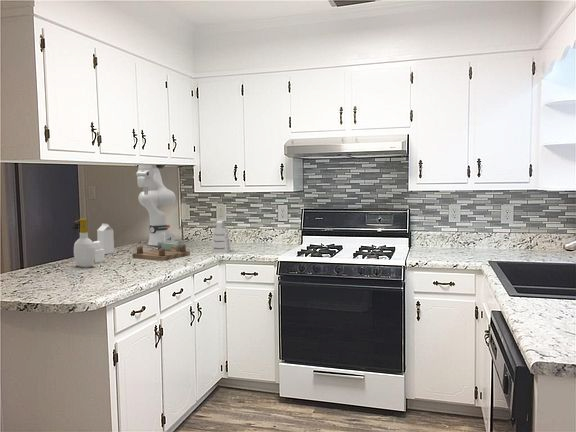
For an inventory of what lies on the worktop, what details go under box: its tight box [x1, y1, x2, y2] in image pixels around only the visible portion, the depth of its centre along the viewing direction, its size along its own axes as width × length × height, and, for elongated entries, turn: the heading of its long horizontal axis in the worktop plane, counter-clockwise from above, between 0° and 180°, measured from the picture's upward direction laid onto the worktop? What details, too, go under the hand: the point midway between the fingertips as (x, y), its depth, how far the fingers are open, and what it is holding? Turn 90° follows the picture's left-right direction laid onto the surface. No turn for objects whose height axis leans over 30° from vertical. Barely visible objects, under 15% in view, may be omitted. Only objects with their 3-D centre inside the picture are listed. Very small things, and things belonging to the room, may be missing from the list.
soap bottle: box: [73, 218, 95, 268], centre depth 260 cm, size 14×9×26 cm, turn 59°
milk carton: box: [96, 223, 115, 255], centre depth 305 cm, size 7×7×19 cm
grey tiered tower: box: [210, 220, 232, 254], centre depth 311 cm, size 10×10×20 cm
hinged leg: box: [157, 242, 181, 251], centre depth 302 cm, size 17×4×4 cm, turn 60°
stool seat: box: [131, 244, 191, 262], centre depth 293 cm, size 24×24×6 cm
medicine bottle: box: [91, 240, 106, 264], centre depth 275 cm, size 7×7×12 cm
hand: (146, 194), depth 310 cm, fingers closed
